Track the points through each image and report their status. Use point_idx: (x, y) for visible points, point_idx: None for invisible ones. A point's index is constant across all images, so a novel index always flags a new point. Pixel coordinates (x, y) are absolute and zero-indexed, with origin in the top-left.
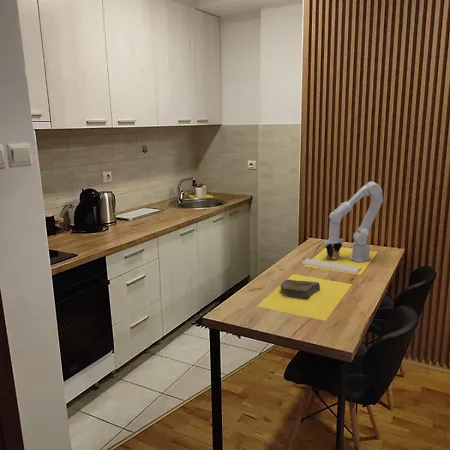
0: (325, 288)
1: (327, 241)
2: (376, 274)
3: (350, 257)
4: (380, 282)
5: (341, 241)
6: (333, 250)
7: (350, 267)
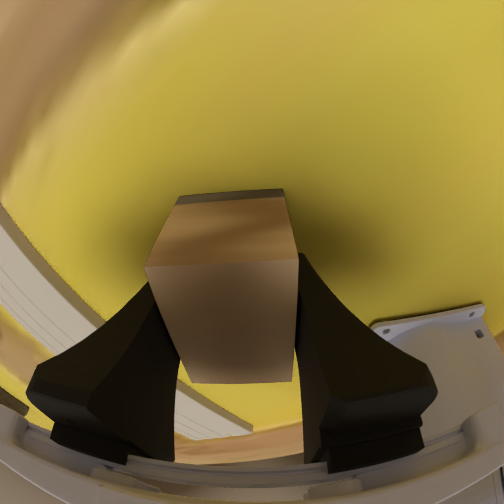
0: (41, 413)
1: (60, 481)
2: (256, 449)
3: (396, 327)
4: (210, 461)
5: (448, 450)
6: (261, 322)
7: (199, 421)
